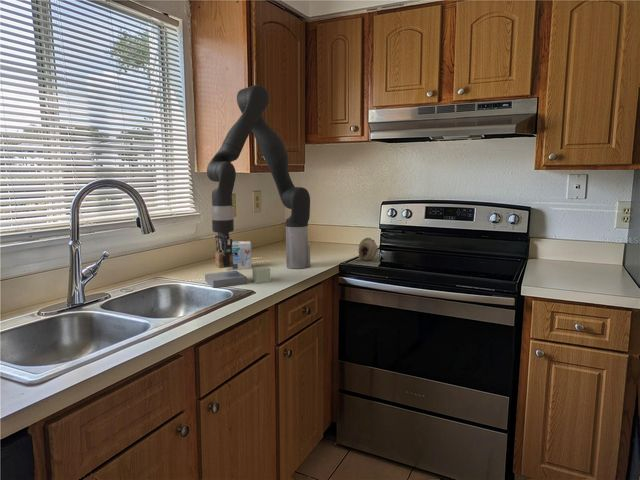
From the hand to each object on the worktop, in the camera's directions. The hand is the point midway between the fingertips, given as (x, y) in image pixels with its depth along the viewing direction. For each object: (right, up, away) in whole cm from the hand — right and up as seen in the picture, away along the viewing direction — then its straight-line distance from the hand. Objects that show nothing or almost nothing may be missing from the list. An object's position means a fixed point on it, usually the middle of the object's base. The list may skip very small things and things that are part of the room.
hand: (224, 264), depth 163 cm
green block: (+13, -6, +2) cm, 15 cm away
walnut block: (0, -1, 0) cm, 0 cm away
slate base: (0, -6, +1) cm, 6 cm away
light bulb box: (0, -3, +26) cm, 26 cm away
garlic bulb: (+56, 0, +40) cm, 69 cm away
